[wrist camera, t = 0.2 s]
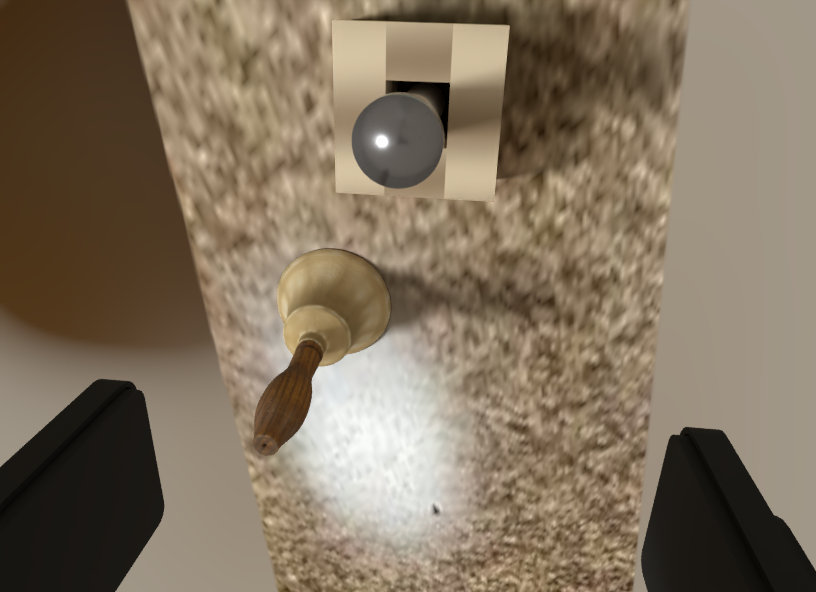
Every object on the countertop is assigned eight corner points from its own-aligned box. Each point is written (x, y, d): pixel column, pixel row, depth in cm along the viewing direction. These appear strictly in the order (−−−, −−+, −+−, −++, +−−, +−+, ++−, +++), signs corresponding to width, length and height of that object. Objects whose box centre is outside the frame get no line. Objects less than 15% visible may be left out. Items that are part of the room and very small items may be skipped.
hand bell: (387, 247, 41) (335, 371, 27) (394, 353, 45) (352, 514, 30) (269, 248, 42) (158, 368, 28) (285, 352, 46) (194, 506, 31)
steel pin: (394, 68, 36) (351, 93, 24) (457, 71, 36) (445, 97, 24) (393, 133, 38) (352, 186, 26) (454, 136, 37) (440, 191, 26)
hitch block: (351, 19, 35) (332, 20, 31) (506, 24, 35) (509, 25, 30) (353, 172, 39) (335, 192, 35) (492, 180, 38) (493, 201, 34)
